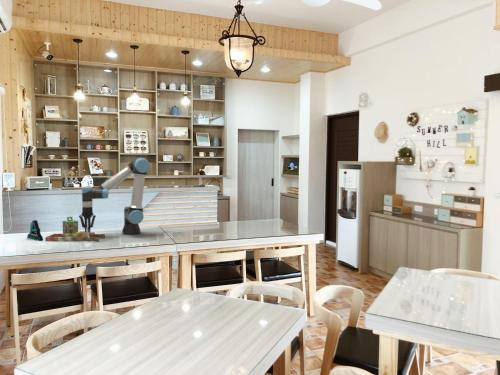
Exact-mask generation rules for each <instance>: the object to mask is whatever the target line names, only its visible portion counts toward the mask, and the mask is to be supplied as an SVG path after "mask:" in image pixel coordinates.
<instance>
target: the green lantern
mask: <svg viewBox="0 0 500 375" xmlns="http://www.w3.org/2000/svg"><path fill="white" fill-rule="evenodd" d="M77 232H79V221H78V220H74V219H73V216H67V217H66V220H63V221H62V234H76V233H77Z"/></svg>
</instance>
